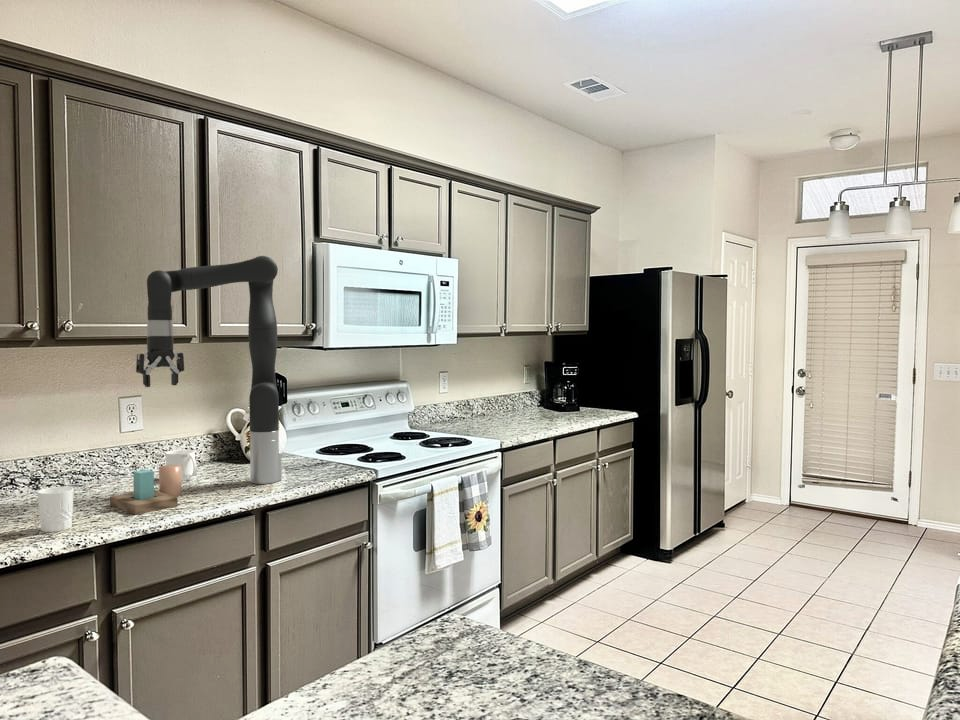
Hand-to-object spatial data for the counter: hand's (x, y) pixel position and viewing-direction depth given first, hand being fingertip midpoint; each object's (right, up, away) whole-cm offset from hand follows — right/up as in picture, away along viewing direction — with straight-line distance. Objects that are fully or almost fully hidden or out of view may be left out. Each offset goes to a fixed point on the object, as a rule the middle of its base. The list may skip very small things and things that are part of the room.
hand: (161, 386), depth 218 cm
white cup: (-8, -35, -41) cm, 55 cm away
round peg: (+6, -34, -6) cm, 34 cm away
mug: (0, -33, +17) cm, 37 cm away
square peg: (+3, -34, -18) cm, 39 cm away
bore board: (+3, -34, -18) cm, 39 cm away
